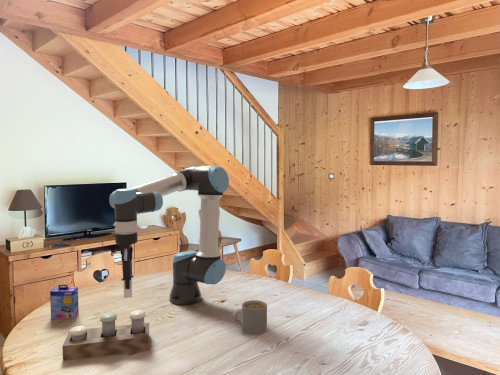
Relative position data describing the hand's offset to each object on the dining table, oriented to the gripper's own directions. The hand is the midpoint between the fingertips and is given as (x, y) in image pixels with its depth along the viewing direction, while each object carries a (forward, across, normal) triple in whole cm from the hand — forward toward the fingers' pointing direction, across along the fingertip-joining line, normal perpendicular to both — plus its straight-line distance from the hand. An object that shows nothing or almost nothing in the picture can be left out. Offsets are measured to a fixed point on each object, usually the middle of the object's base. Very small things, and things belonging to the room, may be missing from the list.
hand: (128, 296), depth 137 cm
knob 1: (+17, +1, -17) cm, 24 cm away
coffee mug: (+19, -3, +46) cm, 50 cm away
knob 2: (+13, 0, +3) cm, 14 cm away
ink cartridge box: (+18, -32, -29) cm, 47 cm away
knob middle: (+13, +1, -7) cm, 15 cm away
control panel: (+18, +1, -7) cm, 19 cm away
